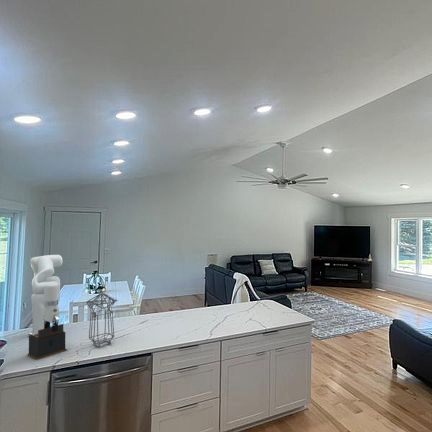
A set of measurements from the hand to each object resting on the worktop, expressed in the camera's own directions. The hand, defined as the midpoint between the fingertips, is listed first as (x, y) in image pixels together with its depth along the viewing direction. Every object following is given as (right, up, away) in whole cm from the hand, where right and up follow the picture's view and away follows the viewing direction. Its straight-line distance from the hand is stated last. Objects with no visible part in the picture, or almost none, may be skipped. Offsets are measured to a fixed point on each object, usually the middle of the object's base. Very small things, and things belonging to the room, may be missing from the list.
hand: (51, 330), depth 210 cm
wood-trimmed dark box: (-4, -15, +2) cm, 16 cm away
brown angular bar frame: (-5, -3, +3) cm, 7 cm away
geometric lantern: (+23, -16, +17) cm, 32 cm away
